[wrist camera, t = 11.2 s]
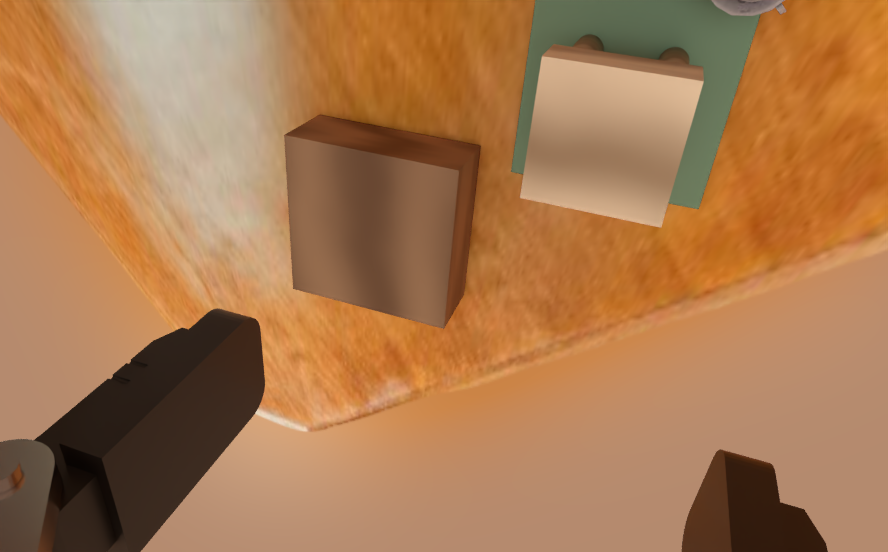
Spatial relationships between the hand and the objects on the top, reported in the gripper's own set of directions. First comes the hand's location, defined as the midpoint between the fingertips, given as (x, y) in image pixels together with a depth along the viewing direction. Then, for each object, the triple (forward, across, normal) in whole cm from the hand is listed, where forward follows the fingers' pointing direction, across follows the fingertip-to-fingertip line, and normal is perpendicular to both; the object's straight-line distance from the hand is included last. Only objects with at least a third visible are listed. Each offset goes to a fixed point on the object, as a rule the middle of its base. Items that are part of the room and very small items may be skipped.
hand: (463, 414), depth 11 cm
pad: (+25, -1, +1) cm, 25 cm away
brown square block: (+26, +11, +10) cm, 29 cm away
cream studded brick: (+25, -1, +1) cm, 25 cm away
